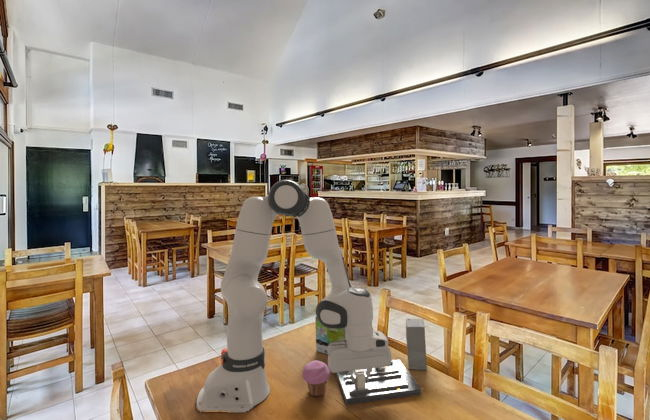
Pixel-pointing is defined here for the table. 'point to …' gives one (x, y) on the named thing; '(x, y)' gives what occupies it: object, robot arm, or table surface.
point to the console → (379, 384)
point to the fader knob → (360, 379)
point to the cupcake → (316, 377)
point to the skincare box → (416, 344)
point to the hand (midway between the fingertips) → (359, 380)
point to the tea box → (327, 336)
